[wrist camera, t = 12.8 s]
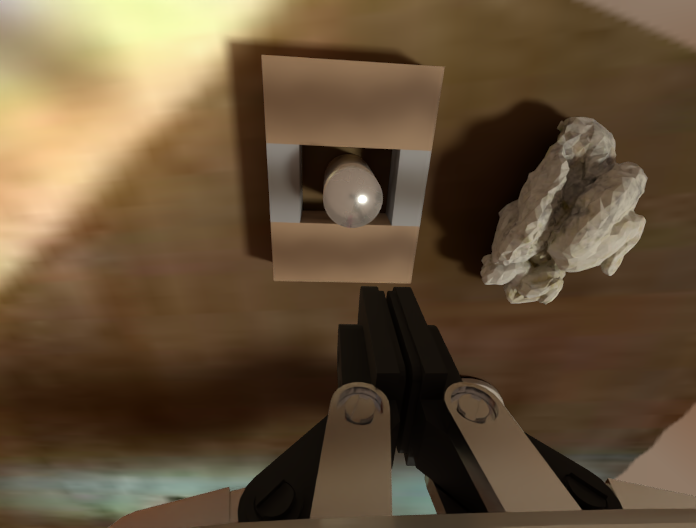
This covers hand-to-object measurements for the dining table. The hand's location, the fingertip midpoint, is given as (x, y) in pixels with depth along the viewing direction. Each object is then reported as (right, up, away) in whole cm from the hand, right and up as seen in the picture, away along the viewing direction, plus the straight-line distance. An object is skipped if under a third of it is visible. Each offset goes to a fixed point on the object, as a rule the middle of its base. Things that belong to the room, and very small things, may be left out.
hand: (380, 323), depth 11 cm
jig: (-1, +10, +19) cm, 22 cm away
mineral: (+18, +7, +22) cm, 29 cm away
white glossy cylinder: (-1, +10, +19) cm, 22 cm away
